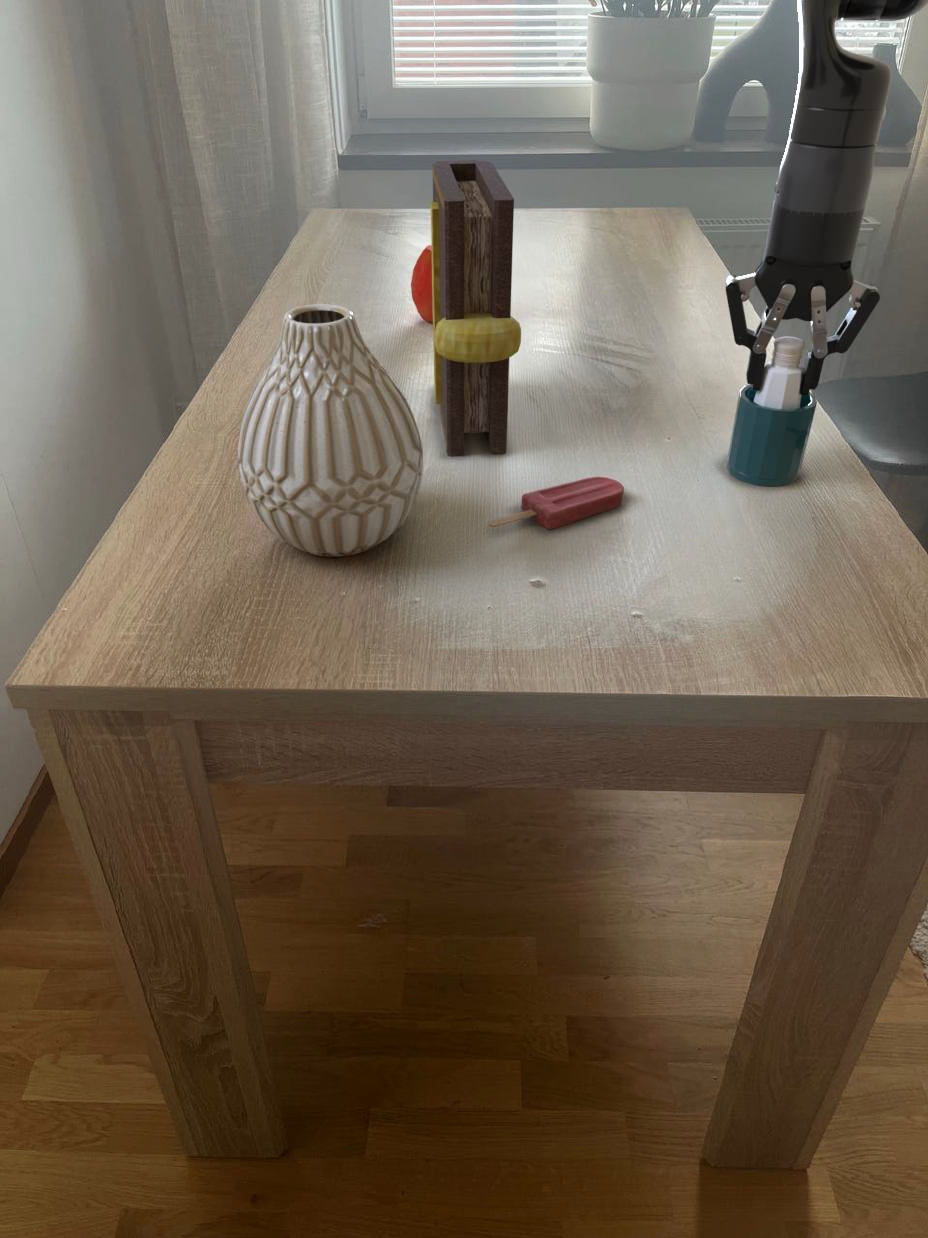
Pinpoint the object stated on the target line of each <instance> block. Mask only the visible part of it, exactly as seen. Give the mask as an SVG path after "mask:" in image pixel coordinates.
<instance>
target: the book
mask: <svg viewBox="0 0 928 1238" xmlns="http://www.w3.org/2000/svg"><path fill="white" fill-rule="evenodd" d="M514 213H515V198H514V197H513V195H512V193H511V192H510V190H509V188H508V187H507V185H506V184H505V182H504V180H503V178H502V176H501V175H500V173H499V172H498V170H497V168H496V167H495V164H494V163H493V162H490V161H487V160H479V159H478V160H476V159H467V160H466V159H464V160H463V159H462V160H459V159H458V160H441V161H435V162H434V163H432V201H430V234H431V235H430V238H431V239H430V242H431V243H430V245H431V246H432V296H433V323H432V340H433V342H432V343H433V344H432V345H433V346H432V347H433V388H434V389H433V390H434V391H433V392H434V400H435V405H438V408H439V415H440V420H441V427H442V432H443V438H444V443H445V449H446V456H448V457H462V456H464V455H465V434H474V433H484V436H485V439H486V443H487V447H488V453H489V454H490V455H505V454H506V453H507V451H508V450H507V449H508V448H507V445H508V444H507V443H508V417H509V415H508V411H509V381H510V380H509V379H510V376H509V375H510V358H511V357H513V356H515V355H516V354H517V353H518V352H519V350H520V347H521V344H522V326H521V323H520V322H519V320H517V319H516V318H515V317H514V316H512V315H511V314H512V313H511V312H512V281H513V280H512V279H513V246H514V245H513V244H514V216H515V215H514Z"/></svg>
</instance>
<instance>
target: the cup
mask: <svg viewBox="0 0 928 1238" xmlns="http://www.w3.org/2000/svg"><path fill="white" fill-rule="evenodd" d="M756 392H757V391H753V390H752V384H747V385H744V386H743V387H742V388H741V389H740V390H739V392H738V398H737V403H736V408H735V415H734V420H733V425H732V431H731V435H730V442H729V445H728V451H727V459H726V460H727V461H726V470H727V471H728V473H729V474H730V475H731V476H733V477H734V478H735V479H737V480H739V481H742V482H744V483H747V484H751V485H754V486H761V487H781V486H786V485H790V484H792V483H794V482H796V481H797V480H798V478H799V476H800V472H801V470H802V468H803V467H802V466H803V462H804V460H805V459H804V458H805V455H806V450H807V445H808V441H809V438H810V433H811V429H812V425H813V420H814V418H815V417H814V416H815V412H816V408H817V404H818V401H817V400H818V399H817V397H816V395H815V394H813V393H812V392H811V391H809V395H801V401H800V408H798V409H774V408H770V407H765V406H761V405H759V404H756V403H754V398H755V395H756Z"/></svg>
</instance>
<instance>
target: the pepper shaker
mask: <svg viewBox="0 0 928 1238" xmlns="http://www.w3.org/2000/svg"><path fill="white" fill-rule="evenodd" d="M805 346H806V343H805V341H803V340H802V339H800V338H798V337H796V336H795V337H794V336H787V335H785V336H780V337H777V338H775V339H774V340H773V349H772V353H771V356H772V357H771V360H769V361H767V362H766V363H765V366H764V371H763V376H762V381H761V387H760V391H757V392H756V395H755V398H754V403H756V404H759V405H761V406H765V407H770V408H774V409H798V408H800V401H801V394H800V392H801V386H802V380H803V374H804V366H803V365H801V361H800V360H801V359H802V356H803V350H804V349H805Z"/></svg>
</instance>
